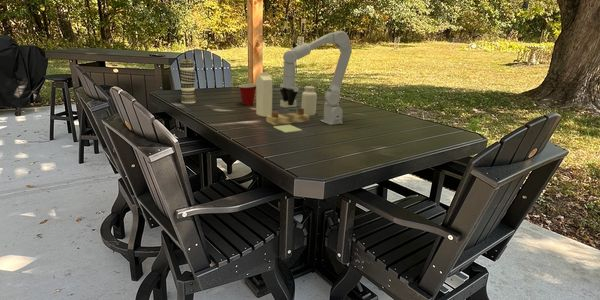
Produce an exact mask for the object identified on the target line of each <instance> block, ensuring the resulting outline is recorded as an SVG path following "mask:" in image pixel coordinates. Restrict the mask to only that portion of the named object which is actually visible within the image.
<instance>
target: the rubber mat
mask: <svg viewBox="0 0 600 300" xmlns="http://www.w3.org/2000/svg"><path fill="white" fill-rule="evenodd" d="M273 128H274V129H276V130H278V131H280V132H283V133H285V134H287V133H294V132H303V129H301V128H298V127H296V126H294V125H291V124H281V125H273Z"/></svg>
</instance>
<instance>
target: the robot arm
mask: <svg viewBox="0 0 600 300" xmlns="http://www.w3.org/2000/svg"><path fill="white" fill-rule="evenodd" d="M325 44H334V45H336V47H337V49H338V50H339V52H340V54H339V57H338V60H337V64H336V66H335V69H334V73H333V77H332V79H331V82H330V85H329V87H328V89H327V90H326V91H325V93H324V99H325V102H324V105H323V119H319V121H320V122H322V123H325V124H328V125H330V126H332V125H341V124H344V122H343V108H342V107H340V100H341V98H340V94H341V86H342V85H343V81H344V77H345V74H346V72H347V68H348V65H349V61H350V58H351V55H352V45H351V42H350V37H349V35H348V34H347V33H346V31H344V30H335V31H334V32H329V33H326V34H324V35H323V36H322V35H321V37H319V38H317V39H315V40H313V41H311V42H309V43H307V42H300V43H299V45H297V46H295V47H291V48H290V50H286V51H285V52H284V53H283V56H282V59H283V71H282V72H283V73H282V76H283V77H282V83H279V88H281V89H279V91H280V94H281V97H282V100H287V99H288V103H289V105H293V103H294V100H296V97H297V95H298V93H299V87H298V86H297V85H296V61H297V60H301V59H302V58H304V57H306V56H308V55H310V54H311V51H312V50H314V49H317V48H319V47H321V46H323V45H325Z"/></svg>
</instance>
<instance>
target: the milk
mask: <svg viewBox="0 0 600 300" xmlns="http://www.w3.org/2000/svg"><path fill="white" fill-rule="evenodd" d="M255 82H256V83H255V84H256V90H255V93H256V94H255V97H256V99H255V100H256V102H255V103H256V109H255V113H256V115H257V116H259V117H266V116H268V115H272V111H273V78H272V77H271V76H270V72H262V73H259V76H258V77H257V78H256V80H255Z"/></svg>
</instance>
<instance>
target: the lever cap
mask: <svg viewBox="0 0 600 300" xmlns="http://www.w3.org/2000/svg"><path fill="white" fill-rule="evenodd" d="M297 103H298V102H297V99H295V100H294V103H293V105H289V103H288V99H287V100H283V99H280V101H279V106H280V107H283V108H292V107H293V108H294V107H297Z"/></svg>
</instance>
